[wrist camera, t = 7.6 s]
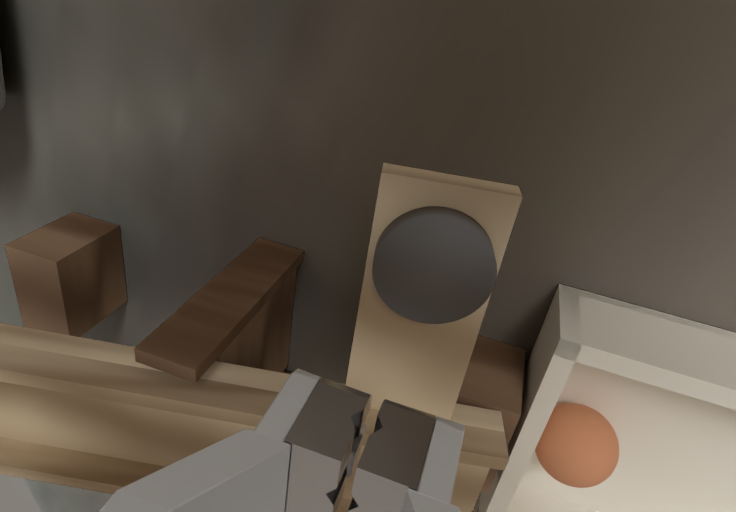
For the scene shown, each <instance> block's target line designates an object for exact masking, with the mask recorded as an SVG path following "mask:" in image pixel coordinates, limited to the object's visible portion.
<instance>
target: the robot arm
mask: <svg viewBox="0 0 736 512" xmlns="http://www.w3.org/2000/svg"><path fill="white" fill-rule="evenodd" d="M371 400H372V395H370V394H368V393H365V392H362V391H359V390H357V389H354V388H351V387H349V386H346V385H343V384H340V383H338V382H335V381H332V380H330V379H327V378H324V377H320V376H317V375H315V374H312V373H309V372H306V371H304V370H301V369H298V368H297V369H296V370H295V371H294V372H292V373H291V375H290V376H289V378H288V379H287V381H286V382H285V384H284V385H283V387H282V388H281V390H280V392H279V393H278V395H277V396H276V398H275V399H274V401H273V402H272V404H271V405H270V407H269V408H268V410H267V411H266V413H265V414H264V416H263V417H262V419H261V421H260V422H259V424H258V425H257V427H256V428H255V430H254V431H253V430H250V429H247V428H246V429H244V430H242V431H240V432H237V433H235V434H233V435H231V436H229V437H227V438H225V439H223V440H221V441H219V442H217V443H214V444H212V445H210V446H208V447H206V448H204V449H202V450H200V451H198V452H196V453H194V454H191V455H189V456H187V457H185V458H183V459H181V460H179V461H177V462H175V463H173V464H171V465H168V466H166V467H164V468H162V469H160V470H158V471H156V472H154V473H152V474H150V475H148V476H145V477H143V478H141V479H139V480H137V481H135V482H133V483H131V484H129V485H127V486H125V487H122V488H120V489H118V490H117V491H116V492H115V493H114V494H113V495H112V497H111V498H110V499H109V500H108V501H107V502H106V504H105V505H104V506H103V507H102V508H101V510H100V511H99V512H336V511H337V509H338V506H339V504H340V501H341V499H342V497H343V492H344V487H345V482H346V478H347V477H349V476H351V474H352V472H353V469H354V467H355V464H356V461H357V458H358V455H359V452H360V449H361V446H362V443H363V439H364V435H365V431H366V424H365V420H366V418H367V415H368V413H369V410H370V406H371ZM464 431H465V429H464V425H462V424H459V423H456V422H453V421H450V420H447V419H444V418H441V417H438V416H437V418H436V416H435V415H432V414H429V413H426V412H423V411H420V410H417V409H414V408H411V407H408V406H405V405H402V404H399V403H396V402H393V401H390V400H387V399H385V400H384V401H383V403H382V405H381V407H380V410H379V412H378V415H377V419H376V423H375V428H374V432H373V433H372V434H370V435H369V437H368V440H367V442H366V445H365V448H364V450H363V453H362V455H361V458H360V460H359V463H358V465H357V469H356V473H355V478H354V483H353V487H352V492H351V495H352V496H353V498H352V501H351V503H350V506H349V509H348V512H461V511H460V509H459V507H457V506H455V505H452V504H450V503H451V498H452V493H453V488H454V483H455V478H456V472H457V467H458V462H459V457H460V452H461V447H462V442H463V436H464Z"/></svg>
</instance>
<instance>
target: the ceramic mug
mask: <svg viewBox="0 0 736 512" xmlns="http://www.w3.org/2000/svg"><path fill="white" fill-rule="evenodd" d="M5 104H6V91H5V84H4V77H3V68H2V59H1V50H0V111H1V110H2V109H3V108H4V106H5Z"/></svg>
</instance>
